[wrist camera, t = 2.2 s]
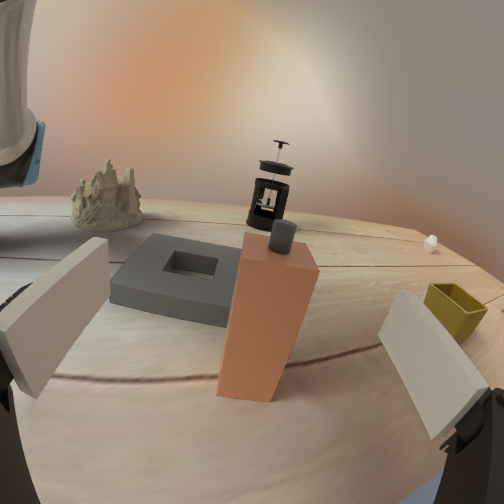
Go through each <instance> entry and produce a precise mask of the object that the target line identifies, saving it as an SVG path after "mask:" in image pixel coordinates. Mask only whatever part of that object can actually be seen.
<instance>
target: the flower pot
mask: <svg viewBox="0 0 504 504" xmlns="http://www.w3.org/2000/svg"><path fill="white" fill-rule="evenodd" d="M424 305H425V306H426V307H427V308H428V309H429V310H430V311H431V312H432V314H433V315H434V316H435V317H436V318H437V319H438V321H439V322H440V323H441V324H442V325H443V326H444V328H445V329H446V330H447V331H448V332H449V334H450V335H451V336H452V337H453V339H454V340H455V341H456V342H457V344H458V345H459V344H461V343H462V342H463V341H465V340H466V339H467V338H468V337H469V336H470V335H471V334H472V332H473V331H474V330H475V328H476V327H477V326H478V324H479V323H480V321H481V320H482V318H483V317H484V315H485V313H486V312H487V310H488V308H487V307H486V306H485V305H483V304H482V303H481V302H479V301H478V300H477V299H475V298H474V297H473V296H471V295H470V294H469V293H467V292H466V291H465V290H464V289H462V288H461V287H460V286H458V285H457V284H455V283H430V284H429V288H428V291H427V294H426V297H425V300H424Z"/></svg>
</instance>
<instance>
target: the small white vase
mask: <svg viewBox="0 0 504 504" xmlns="http://www.w3.org/2000/svg"><path fill="white" fill-rule="evenodd" d="M424 245H425V251H426V252H428V253H433V252H434V251H435V250H436V248H437V247H438V244H437V237H436V236H433V235H430V236H429V238H427V239H425V243H424Z"/></svg>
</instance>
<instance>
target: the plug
mask: <svg viewBox="0 0 504 504" xmlns="http://www.w3.org/2000/svg"><path fill="white" fill-rule="evenodd" d="M296 227H297V225H296V224H294V223H292V222H290V221H286V220H281V219H276V220H274V223H273V227H272V232H271V236H270V237H269V236H264V235H258V234H253V233H247V232H245V234H244V239H243V245H242V250H241V255H240V260H239V265H238V270H237V275H236V281H235V286H234V291H233V296H232V302H231V307H230V312H229V318H228V323H227V328H226V334H225V339H224V344H223V350H222V355H221V362H220V370H219V378H218V387H217V395H216V396H223V397H230V398H237V399H245V400H255V401H265V402H270V401H271V399H272V396H273V394H274V392H275V389H276V387H277V385H278V382H279V380H280V377H281V375H282V373H283V370H284V368H285V365H286V363H287V360H288V358H289V355H290V353H291V350H292V348H293V345H294V342H295V340H296V337H297V334H298V332H299V329H300V326H301V324H302V321H303V318H304V315H305V313H306V310H307V307H308V304H309V301H310V298H311V295H312V293H313V290H314V287H315V284H316V281H317V278H318V275H319V272H320V271H319V269H318V267H317V265H316V263H315V261H314V259H313V257H312V255H311V253H310V251H309V249H308V247H307V245H306V243H301V242H295V241H293V238H294V234H295V231H296Z"/></svg>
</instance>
